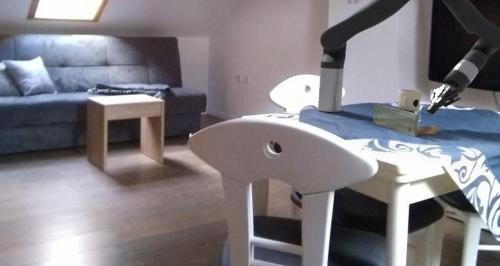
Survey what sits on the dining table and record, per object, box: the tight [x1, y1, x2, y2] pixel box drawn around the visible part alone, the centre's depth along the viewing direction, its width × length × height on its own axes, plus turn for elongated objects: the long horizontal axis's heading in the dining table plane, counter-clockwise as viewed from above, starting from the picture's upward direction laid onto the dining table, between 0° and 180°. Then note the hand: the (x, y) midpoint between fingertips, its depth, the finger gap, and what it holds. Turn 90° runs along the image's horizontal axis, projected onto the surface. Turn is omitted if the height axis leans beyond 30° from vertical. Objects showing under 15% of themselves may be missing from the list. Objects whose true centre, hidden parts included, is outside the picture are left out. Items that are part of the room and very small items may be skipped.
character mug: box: [396, 89, 422, 113], centre depth 162 cm, size 11×7×13 cm, turn 144°
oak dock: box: [372, 103, 440, 137], centre depth 163 cm, size 11×22×7 cm, turn 21°
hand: (429, 112), depth 166 cm, fingers closed
